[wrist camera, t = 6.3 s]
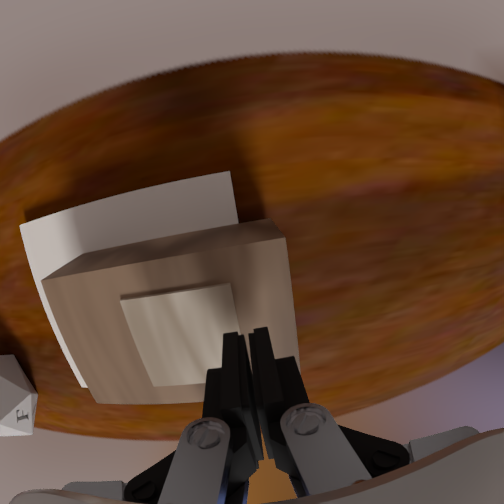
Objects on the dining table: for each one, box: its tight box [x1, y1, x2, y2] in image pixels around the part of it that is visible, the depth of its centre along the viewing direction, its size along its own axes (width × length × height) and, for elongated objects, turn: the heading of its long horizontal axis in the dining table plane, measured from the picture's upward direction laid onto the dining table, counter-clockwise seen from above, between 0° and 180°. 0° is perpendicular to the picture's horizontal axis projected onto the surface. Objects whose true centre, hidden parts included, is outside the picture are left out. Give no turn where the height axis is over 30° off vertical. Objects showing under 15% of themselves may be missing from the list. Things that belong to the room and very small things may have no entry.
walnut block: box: [41, 218, 301, 404], centre depth 15 cm, size 5×8×12 cm
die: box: [0, 355, 38, 436], centre depth 16 cm, size 8×9×10 cm
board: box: [20, 171, 239, 387], centre depth 18 cm, size 16×14×1 cm
